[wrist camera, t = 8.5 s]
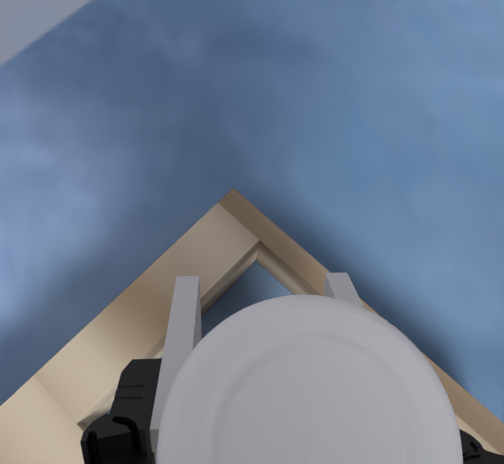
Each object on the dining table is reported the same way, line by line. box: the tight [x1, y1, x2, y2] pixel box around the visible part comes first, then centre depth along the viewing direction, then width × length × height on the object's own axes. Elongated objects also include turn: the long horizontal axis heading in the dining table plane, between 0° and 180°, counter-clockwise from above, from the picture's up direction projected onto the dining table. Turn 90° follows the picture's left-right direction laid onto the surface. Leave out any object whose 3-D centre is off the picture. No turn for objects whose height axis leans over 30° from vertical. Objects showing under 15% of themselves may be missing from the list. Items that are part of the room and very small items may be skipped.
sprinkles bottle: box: [157, 294, 463, 464], centre depth 13 cm, size 5×5×14 cm
